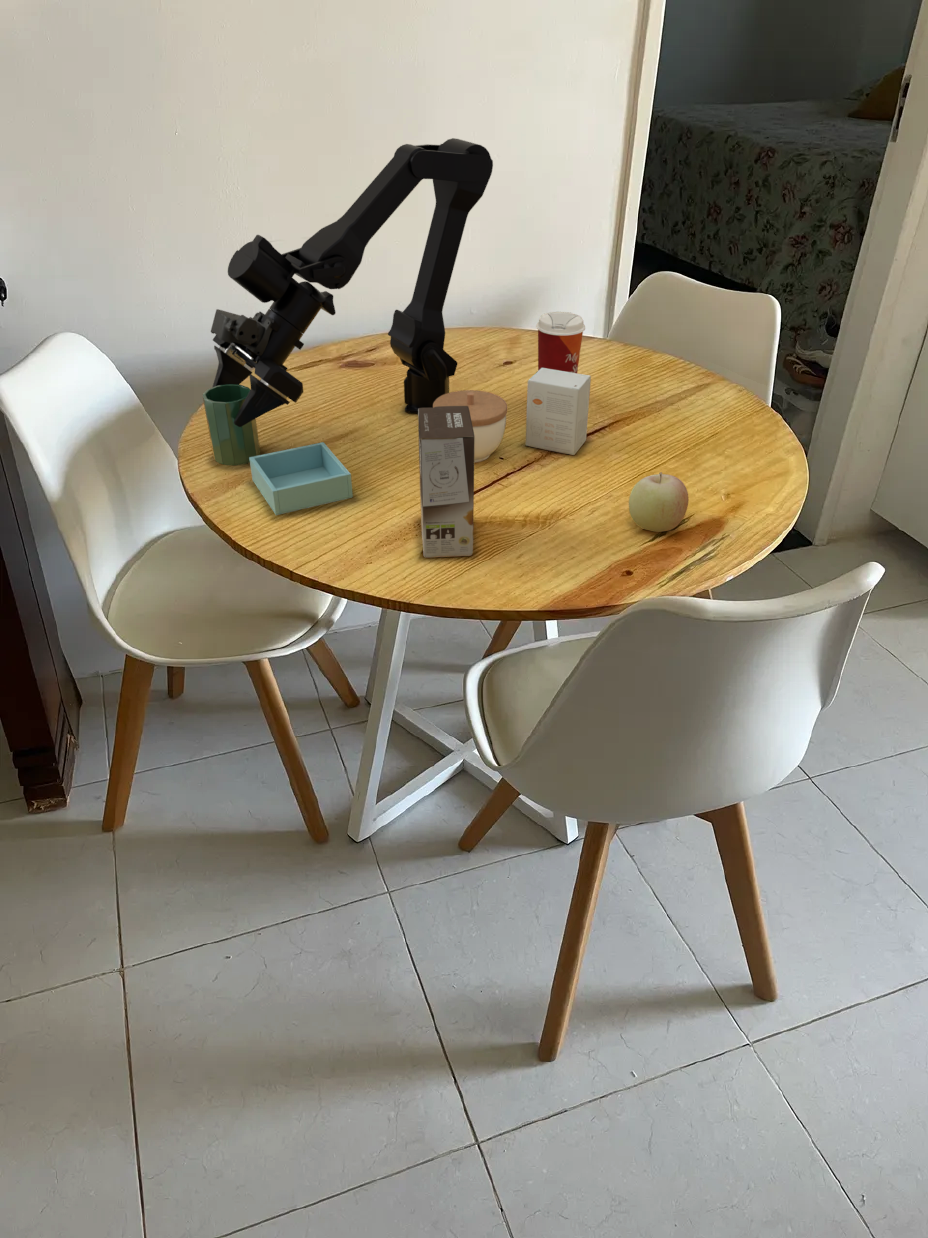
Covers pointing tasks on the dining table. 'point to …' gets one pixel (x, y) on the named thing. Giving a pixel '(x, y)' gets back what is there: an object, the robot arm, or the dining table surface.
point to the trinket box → (480, 418)
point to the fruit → (658, 502)
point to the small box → (557, 410)
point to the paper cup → (559, 341)
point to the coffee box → (446, 480)
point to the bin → (300, 478)
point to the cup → (229, 425)
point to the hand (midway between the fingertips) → (223, 413)
